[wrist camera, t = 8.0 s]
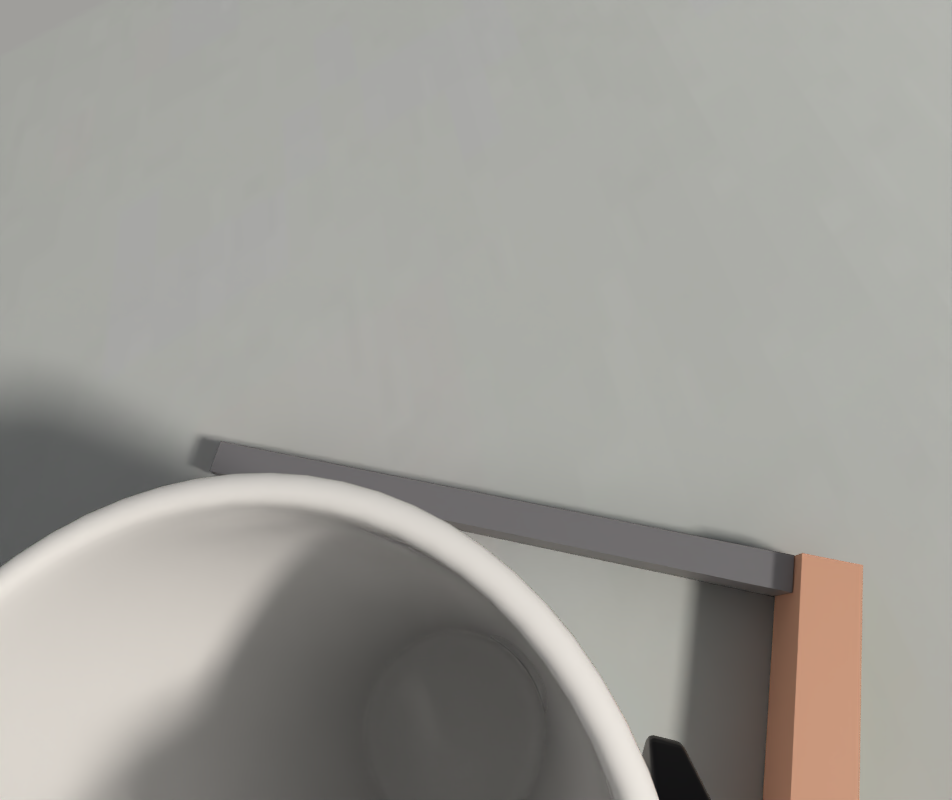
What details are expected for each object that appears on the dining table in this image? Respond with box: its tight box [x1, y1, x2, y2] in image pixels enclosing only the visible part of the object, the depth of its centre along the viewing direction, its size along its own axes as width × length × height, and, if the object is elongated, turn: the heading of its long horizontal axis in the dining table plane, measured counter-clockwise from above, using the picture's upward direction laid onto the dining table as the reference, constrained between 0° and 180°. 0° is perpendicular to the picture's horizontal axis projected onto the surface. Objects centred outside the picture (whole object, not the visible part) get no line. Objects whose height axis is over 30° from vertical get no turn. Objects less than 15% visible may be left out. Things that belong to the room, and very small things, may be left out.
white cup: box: [0, 473, 659, 800], centre depth 11 cm, size 7×7×15 cm
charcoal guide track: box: [210, 441, 794, 596], centre depth 18 cm, size 18×12×2 cm
